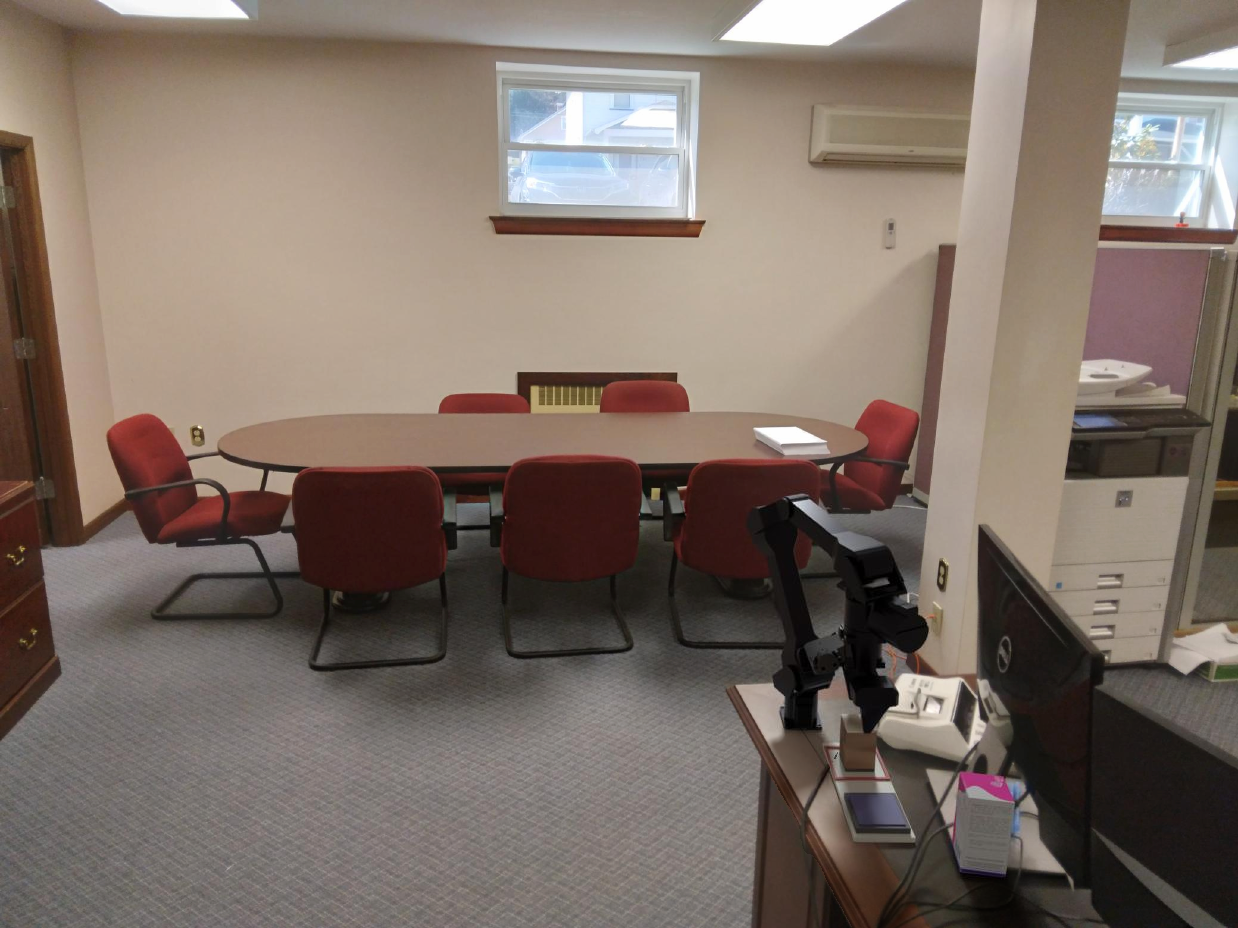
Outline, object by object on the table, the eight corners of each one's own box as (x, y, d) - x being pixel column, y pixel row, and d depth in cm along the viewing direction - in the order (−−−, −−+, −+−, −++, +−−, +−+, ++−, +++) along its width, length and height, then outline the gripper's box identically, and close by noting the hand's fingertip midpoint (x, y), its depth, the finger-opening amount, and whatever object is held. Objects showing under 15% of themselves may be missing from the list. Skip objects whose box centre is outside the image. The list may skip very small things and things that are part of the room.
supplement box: (1007, 878, 102) (1016, 803, 99) (959, 872, 103) (966, 798, 100) (996, 846, 108) (1004, 774, 105) (950, 841, 109) (956, 769, 106)
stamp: (839, 754, 127) (840, 713, 125) (867, 754, 127) (869, 713, 125) (845, 771, 123) (847, 730, 121) (874, 771, 123) (877, 730, 121)
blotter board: (822, 746, 131) (822, 736, 130) (873, 746, 130) (874, 736, 130) (853, 841, 109) (854, 830, 109) (915, 842, 109) (916, 830, 108)
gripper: (799, 599, 128) (797, 684, 132) (822, 654, 110) (819, 752, 114) (868, 598, 127) (864, 684, 131) (902, 653, 109) (897, 751, 113)
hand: (859, 715), depth 122 cm, fingers open, 9 cm apart
